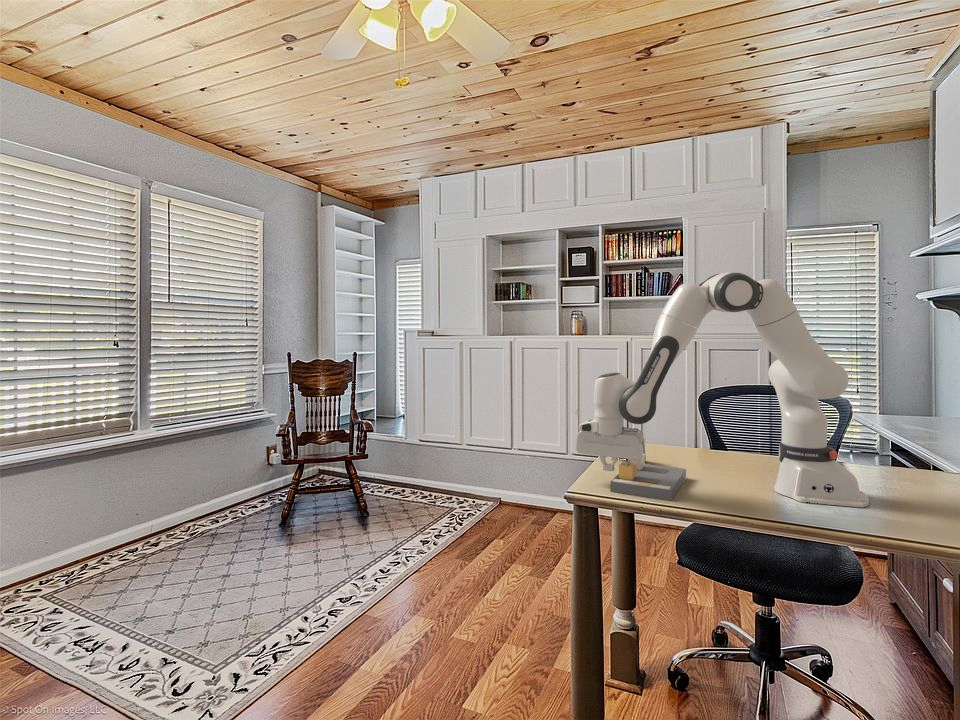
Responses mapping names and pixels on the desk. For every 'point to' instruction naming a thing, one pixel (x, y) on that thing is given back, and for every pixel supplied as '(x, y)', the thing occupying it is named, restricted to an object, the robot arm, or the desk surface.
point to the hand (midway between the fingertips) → (608, 470)
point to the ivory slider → (639, 462)
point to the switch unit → (651, 482)
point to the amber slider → (627, 470)
